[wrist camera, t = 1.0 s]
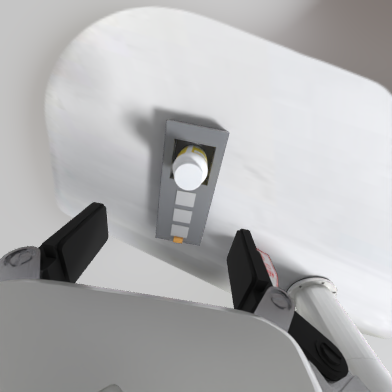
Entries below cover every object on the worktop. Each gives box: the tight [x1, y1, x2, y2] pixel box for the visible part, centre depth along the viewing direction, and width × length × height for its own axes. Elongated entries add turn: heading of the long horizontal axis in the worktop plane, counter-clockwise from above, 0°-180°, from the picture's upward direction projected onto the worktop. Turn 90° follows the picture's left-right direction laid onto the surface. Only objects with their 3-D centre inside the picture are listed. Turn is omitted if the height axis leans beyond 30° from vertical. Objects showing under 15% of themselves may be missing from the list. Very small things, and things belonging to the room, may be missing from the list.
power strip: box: [156, 120, 229, 245], centre depth 32 cm, size 24×10×4 cm, turn 169°
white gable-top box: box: [256, 248, 278, 287], centre depth 37 cm, size 4×7×10 cm, turn 57°
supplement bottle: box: [173, 145, 208, 190], centre depth 27 cm, size 5×5×10 cm
